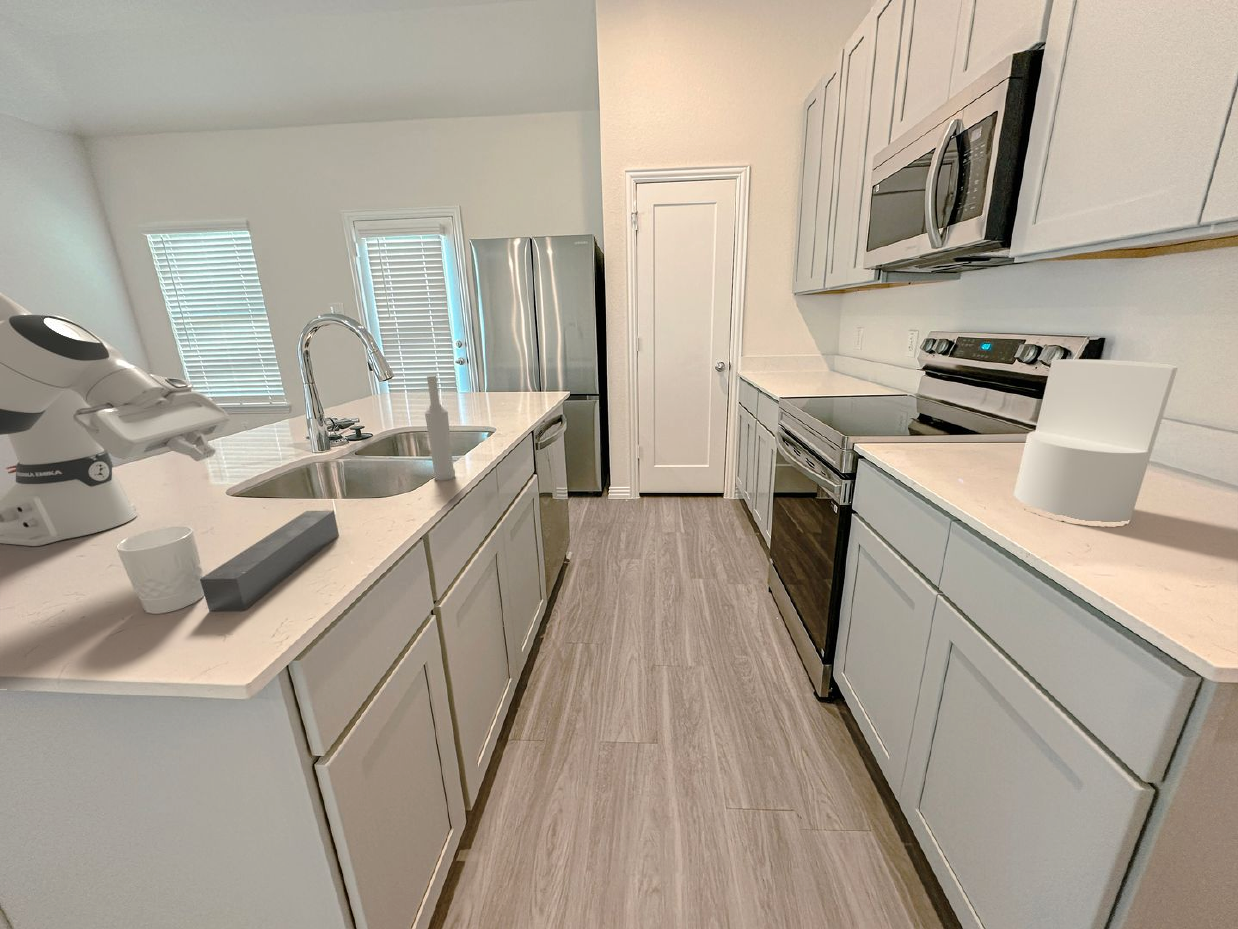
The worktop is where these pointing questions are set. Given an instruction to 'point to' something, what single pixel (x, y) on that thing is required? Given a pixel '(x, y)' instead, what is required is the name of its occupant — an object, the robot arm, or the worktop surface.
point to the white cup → (163, 568)
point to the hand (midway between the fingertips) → (207, 456)
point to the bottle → (439, 435)
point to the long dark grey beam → (268, 562)
